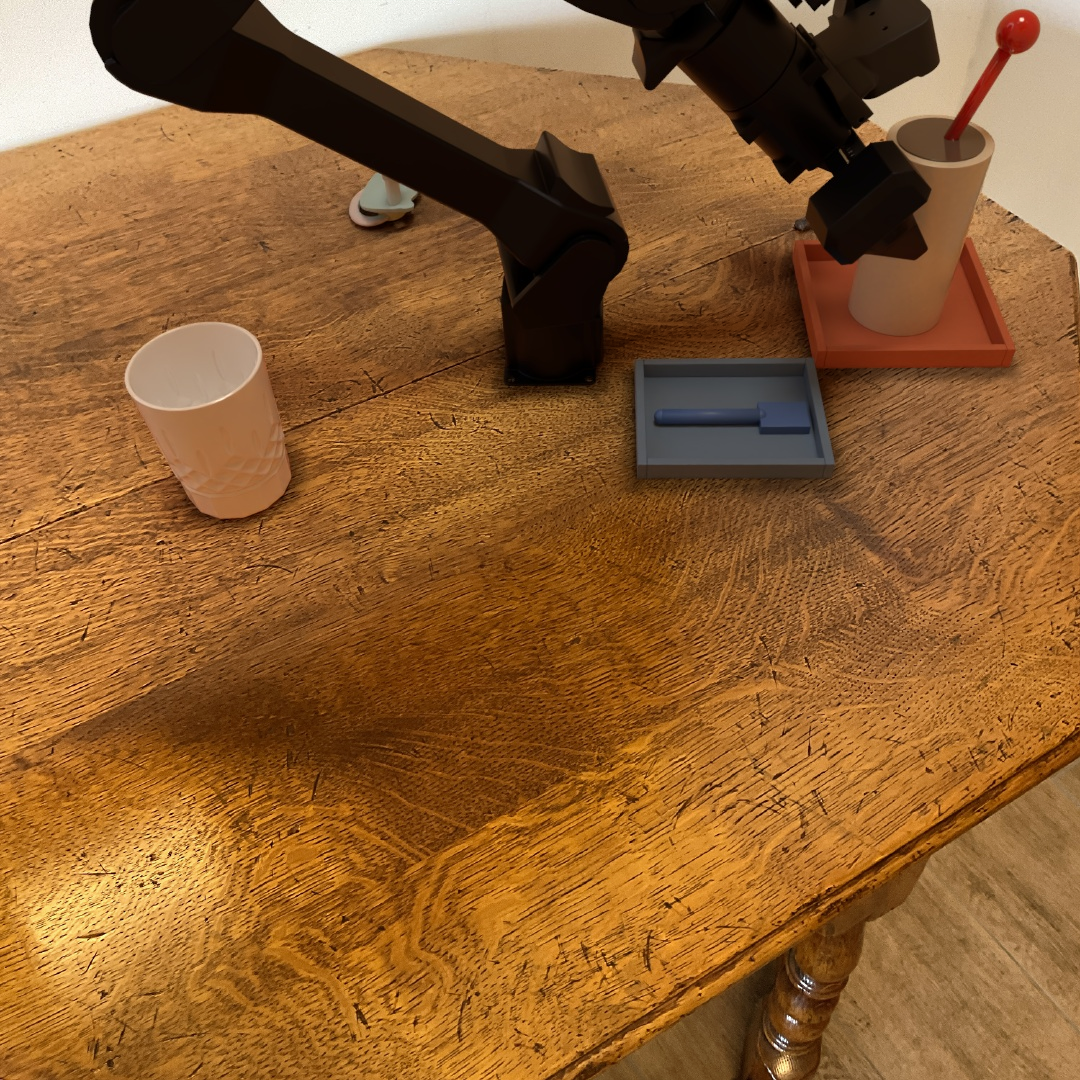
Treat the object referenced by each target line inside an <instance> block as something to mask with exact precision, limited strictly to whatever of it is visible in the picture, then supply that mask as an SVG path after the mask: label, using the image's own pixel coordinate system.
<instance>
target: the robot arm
mask: <svg viewBox="0 0 1080 1080" xmlns="http://www.w3.org/2000/svg"><path fill="white" fill-rule="evenodd" d="M563 1H564V2H565V3H566V4H569V5H571V6H573V7H575V8H577V9H579V10H581V11H583V12H585V13H586V14H591V15H593V16H596V17H599V18H602V19H605V20H608V21H612V22H614V23H618V24H620V25H623V26H626V27H629V28H631V31H632V35H633V39H634V41H633V48H632V56H631V63H632V65H633V67H634V69H635V71H636V74H637V75H638V77H639V80H640V81H641V83H642V85H643V87H644V89H645V90H647V91H648V92H651V91H654V90H655V89H657V88H658V86H659V85H660V84H661V83H662V82H663V81H665V79H666V78H667V77H668V76H669V75H670V74H671V72H672V71H673V70H674V69H675V68H676V67H678V69H679V70H680V71H681V72H683V74H684V75H685V76H687V77H688V79H690V80H691V81H692V82H693V84H695V86H696V87H698V88H699V90H701V91H702V92H703V93H704V94H705V95H706V96H707V97H708V98H709V99H710V100H711V101H712V102H713V103H714V104H715V105H716V106H717V108H719V109H720V110H721V111H722V112H723V113H724V114H725V115H726V116H727V117H728V118H729V120H730V122H731V124H732V125H733V127H734V129H735V131H736V133H737V134H738V136H739V137H740V138H741V139H742V140H743V141H744V142H745V144H747V145H748V146H750V145H751V144H752V143H755V144H756V145H757V147H758V148H760V149H761V151H763V152H764V153H765V154H766V155H767V156H768V158H769V159H770V161H771V163H772V164H773V166H774V167H775V170H776V171H777V173H778V174H779V176H780V177H781V178H782V179H783V180H784V181H785V182H786V183H787V184H788V185H791V184H792V183H793V182H794V181H796V180H797V179H798V178H799V176H801V175H802V174H803V173H804V172H806V171H807V172H812V171H814V170H816V169H818V168H819V169H821V170H824V171H826V172H828V173H830V174H831V175H832V177H831V178H829V179H828V180H827V181H826V182H825V183H823V185H822V186H821V187H819V188H818V189H817V190H816V191H815V192H814V193H813V194H812V195H811V196H809V198H808V200H807V206H806V212H805V218H804V219H805V220H806V221H807V223H808V224H809V226H810V228H811V230H812V231H813V233H814V235H815V236H816V238H817V240H819V242H820V243H821V245H822V247H823V248H824V250H825V251H827V252H828V253H829V254H830V255H831V256H832V257H833V258H834V259H835V260H836V261H837V262H838V263H839V264H840V265H849V264H853V263H854V262H856V261H857V260H858V259H859V258H860V257H862V256H863V255H864V254H865V255H877V256H885V257H892V258H899V259H906V260H913V261H914V260H917V259H918V258H919V257H921V256H922V255H923V254H924V253H926V252H927V250H928V246H927V244H926V242H925V240H924V237H923V235H922V233H921V231H920V228H919V226H918V224H917V222H916V220H915V217H914V215H913V213H914V212H915V211H917V210H918V209H919V208H920V207H921V206H923V205H924V204H925V203H926V202H927V201H928V198H929V196H930V193H931V190H932V189H931V187H930V186H929V185H928V183H927V182H926V181H925V179H924V178H923V177H922V175H921V174H920V173H919V171H918V170H917V169H916V167H915V166H914V165H913V164H912V162H911V161H910V160H909V159H908V158H907V156H906V155H905V154H904V153H903V151H902V150H901V149H900V148H899V147H898V146H897V145H896V143H895V142H894V141H893V140H889V141H885V140H882V141H871V142H869V144H867V145H866V144H865V143H864V141H863V140H862V138H861V137H860V135H859V134H858V133H857V131H856V130H858V129H859V128H860V127H861V126H862V125H864V124H865V123H866V122H867V121H868V120H869V119H870V118H871V117H872V116H873V115H874V112H873V110H872V109H871V107H870V106H869V105H868V104H867V103H866V102H865V101H864V100H866V101H867V100H873V99H874V100H875V99H877V98H879V97H881V96H883V95H885V94H887V93H889V92H891V91H893V90H894V89H896V88H898V87H900V86H902V85H904V84H906V83H908V82H910V81H911V80H913V79H915V78H924V77H925V76H927V75H928V74H930V73H932V72H933V71H935V70H936V69H937V67H939V65H940V62H941V58H940V53H939V47H938V41H937V36H936V32H935V25H934V20H933V15H932V11H931V9H930V8H929V6H928V5H926V4H925V3H924V2H923V0H834V1H833V6H832V14H831V15H830V16H827V22H828V26H827V27H826V28H824V29H823V30H821V31H820V32H819V33H817V34H815V35H814V34H813V32H809V31H807V29H806V28H805V27H804V26H803V25H802V24H801V23H800V22H799V23H798V24H797V25H795V24H794V22H792V21H789V20H788V19H787V18H786V17H785V16H784V15H783V14H782V12H781V11H780V10H779V9H778V8H777V7H776V5H775V4H774V3H773V2H772V1H771V0H563ZM787 1H788V2H789V3H790V5H792V7H793V8H794V9H796V10H797V8H799V7H800V6H801V5H802V4H803V3H804V2H805V3H806V4H807V5H808V6H809V8H810V9H811V10H812V11H813V12H816V11H817V10H818V9H819V8H820V7H821V6H823V7H826V6H827V4H828V3H829V2H831V0H787ZM88 28H89V33H90V37H91V43H92V45H93V47H94V49H95V50H96V53H97V54H98V56H99V58H100V60H101V61H102V63H103V66H104V69H105V71H106V72H108V74H110V75H111V76H112V77H113V78H114V79H115V80H116V81H117V82H119V83H120V84H121V85H123V86H125V87H126V88H128V89H129V90H131V91H133V92H136V93H138V94H141V95H144V96H146V97H150V98H154V99H157V100H160V101H164V102H167V103H170V104H173V105H176V106H179V107H183V108H186V109H189V110H192V111H196V112H200V113H204V114H206V113H207V114H224V115H225V114H226V115H227V114H228V115H229V114H230V115H251V116H252V115H253V116H258V117H261V118H264V119H267V120H268V121H271V122H273V123H275V124H277V125H279V126H281V127H283V128H285V129H287V130H290V131H291V132H294V133H296V134H298V135H299V136H302V137H304V138H306V139H308V140H310V141H312V142H314V143H316V144H318V145H320V146H322V147H324V148H325V149H329V150H331V151H333V152H335V153H336V154H339V155H341V156H343V157H345V158H347V159H349V160H351V161H353V162H355V163H357V164H359V165H360V166H363V167H365V168H368V169H369V170H372V171H374V172H375V173H379V174H382V175H384V176H386V177H388V178H390V179H392V180H394V181H396V182H398V183H400V184H402V185H404V186H406V187H408V188H410V189H412V190H414V191H416V192H418V193H419V194H421V195H423V196H424V197H426V198H429V199H431V200H433V201H435V202H436V203H438V204H441V205H443V206H445V207H447V208H449V209H451V210H453V211H455V212H456V213H457V212H458V213H459V214H462V215H464V216H465V217H468V218H470V219H472V220H474V221H476V222H478V223H479V224H481V225H483V226H484V227H485V228H486V229H487V230H488V231H489V232H490V233H491V234H492V235H493V236H494V237H495V241H496V246H497V250H498V254H499V258H500V262H501V267H502V272H503V277H502V284H501V293H500V294H501V295H500V312H501V322H502V323H501V324H502V334H503V343H504V355H505V360H504V361H505V362H504V371H503V380H502V381H503V384H504V385H505V386H507V387H569V386H570V387H572V386H573V387H576V386H577V387H578V386H579V387H580V386H581V387H583V386H585V387H589V386H593V385H595V384H596V383H597V367H598V366H599V365H600V366H601V365H602V364H603V363H604V297H605V294H606V292H607V289H608V286H609V284H610V283H611V282H612V281H613V280H614V279H615V278H616V277H617V276H618V275H619V274H620V273H621V272H622V270H623V268H624V267H625V265H626V263H627V262H628V259H629V258H628V257H629V254H630V253H629V252H630V242H629V235H628V233H627V230H626V228H625V226H624V225H625V224H624V223H623V220H622V218H621V215H620V213H619V210H618V208H617V204H616V202H615V200H614V198H613V197H614V196H613V195H612V191H611V189H610V187H609V184H608V182H607V179H606V178H605V177H604V175H603V173H602V172H601V170H600V168H599V165H598V162H597V160H596V157H595V155H594V154H593V153H589V152H581V151H578V150H576V149H573V148H571V147H569V146H568V145H566V143H563V141H561V140H560V139H559V138H558V137H557V136H556V135H554V134H553V133H551V132H550V131H548V130H546V129H545V130H543V131H542V132H541V134H540V136H539V138H538V140H537V142H536V145H535V147H534V148H511V147H507V146H504V145H502V144H499V143H498V142H496V141H494V140H493V139H490V138H489V137H487V136H485V135H483V134H481V133H480V132H478V131H476V130H474V129H472V128H470V127H468V126H466V125H464V124H462V123H461V122H459V121H458V120H456V119H453V118H451V117H450V116H447V115H446V114H445V113H442V112H441V111H439V110H437V109H435V108H433V107H432V106H429V105H427V104H426V103H424V102H422V101H420V100H418V99H416V98H415V97H413V96H411V95H410V94H407V93H405V92H403V91H402V90H400V89H398V88H396V87H394V86H392V85H390V84H389V83H387V82H385V81H383V80H381V79H380V78H377V77H376V76H374V75H372V74H370V73H368V72H366V71H364V70H363V69H361V68H359V67H357V66H356V65H354V64H353V63H350V62H349V61H346V60H344V59H342V58H341V57H339V56H337V55H335V54H334V53H331V52H330V51H328V50H327V49H324V48H322V47H320V46H318V45H317V44H315V43H313V42H311V41H309V40H308V39H306V38H304V37H302V36H300V35H298V34H296V33H295V32H293V31H291V30H290V29H289V28H287V27H286V26H285V25H284V24H283V23H282V22H281V21H279V19H278V18H277V17H276V16H275V15H274V14H273V13H272V12H271V11H270V9H268V8H267V7H266V6H265V4H264V3H263V2H262V1H261V0H92V2H91V5H90V11H89V20H88ZM588 379H591V381H588ZM508 380H513V381H508Z"/></svg>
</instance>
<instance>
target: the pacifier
mask: <svg viewBox="0 0 1080 1080" xmlns="http://www.w3.org/2000/svg"><path fill="white" fill-rule="evenodd" d="M419 194H420V193H418V192H416V191H414V190H412V189H410V188H408V187H406V186H404V185H402V184H400V183H398V182H396V181H394V180H392V179H390V178H388V177H386V176H384V175H382V174H379V173H377V172H375V173H374V174H373V175H372V176H371V178H370V179H369V180H368V182H367V183H366V185H365V187H363V188H362V189H361V190H359V191H358V192H357V193H356V194H355V195H354V196H353V197H352V199H351V201H350V203H349V207H348V215H349V217H350V219H351V220H352V222H354V223H355V224H356V225H359V226H361V227H375V226H378V225H381V224H384V223H385V222H391V221H397V220H399V219H402V218H403V217H404V216H405V215H406V213H409V212H412V211H413V210H414V209H415V203H414V202H413V201H414V200H415V199H416V198H417V196H418V195H419ZM360 209H362V210H364V211H366V212H369V213H376V214H378V215H373V216H369V215H364V214H363V213H361V212H360Z"/></svg>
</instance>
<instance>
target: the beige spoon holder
mask: <svg viewBox="0 0 1080 1080" xmlns="http://www.w3.org/2000/svg"><path fill="white" fill-rule="evenodd" d="M1040 34H1041V20H1040V19H1039V17H1038V15H1037V14H1036V13H1035V12H1034V11H1032V10H1030V9H1026V8H1020V9H1015V10H1011V11H1010V12H1009V13H1007V14H1006V15H1005V16H1003V17H1002V18H1001V20H1000V21H999V23H998V24H997V27H996V29H995V35H994V39H995V43H996V46H997V50H996V51H995V53H994V54H993V55H992V57H991V59H990V60H989V62H988V64H987V66H986V67H985V69H984V70H983V72H982V73H981V75H980V77H979V78H978V79H977V82H976V83H975V84H974V86H973V88H972V90H971V91H970V93H969V94H968V96H967V97H966V99H965V101H964V103H963V104H962V105H961V107H960V109H959V111H958V112H957V114H956V115H955V116H951V115H943V114H922V115H913V116H909V117H907V118H903V119H901V120H898V121H897V122H895V123H894V124H892V126H890V127H889V129H888V131H887V132H886V135H885V140H884V141H889V140H893V141H894V142H895V143H896V145H897V146H898V147H899V148H900V149H901V150H902V151H903V153H904V154H905V155H906V156H907V158H908V159H909V160H910V161H911V162H912V164H913V165H914V166H915V167H916V169H917V170H918V171H919V173H920V174H921V175H922V177H923V178H924V179H925V181H926V182H927V183H928V185H929V186H930V187H931V189H932V190H931V193H930V196H929V198H928V201H927V202H926V203H925V204H924V205H923V206H921V207H920V208H919V209H918V210H917V211H915V212H914V213H913V215H914V217H915V220H916V222H917V224H918V226H919V228H920V231H921V233H922V235H923V237H924V240H925V242H926V244H927V246H928V250H927V252H926V253H924V254H923V255H922V256H921V257H919V258H918V259H917V260H914V261H913V260H906V259H899V258H892V257H885V256H877V255H865V254H864V255H863V256H862V257H860V258H859V259H858V261H857V265H856V269H855V274H854V278H853V282H852V287H851V291H850V295H849V300H848V308H849V311H850V313H851V315H852V316H853V318H854V319H855V320H856V321H857V322H859V323H860V324H861V325H863V326H864V327H866V328H868V329H870V330H872V331H875V332H878V333H881V334H885V335H891V336H913V335H918V334H921V333H924V332H926V331H928V330H930V329H932V328H933V327H934V326H935V325H936V324H937V323H938V322H939V320H940V317H941V314H942V311H943V308H944V305H945V302H946V299H947V296H948V293H949V289H950V286H951V283H952V280H953V277H954V274H955V271H956V268H957V265H958V262H959V258H960V255H961V252H962V249H963V246H964V243H965V240H966V238H968V237H967V236H968V233H969V230H970V227H971V225H972V221H973V218H974V216H975V212H976V209H977V205H978V202H979V199H980V196H981V194H982V190H983V187H984V184H985V181H986V177H987V174H988V171H989V168H990V165H991V162H992V159H993V156H994V153H995V150H996V142H995V140H994V137H993V136H992V135H991V133H989V132H988V131H987V130H986V129H985V128H984V127H982V126H981V125H978V124H976V123H975V122H973V121H972V119H973V117H974V116H975V115H976V113H977V111H978V109H979V108H980V106H981V105H982V103H983V102H984V100H985V98H986V97H987V95H988V93H989V92H990V91H991V89H992V87H993V86H994V84H995V82H996V81H997V79H998V78H999V76H1000V74H1001V73H1002V71H1003V69H1004V68H1005V67H1006V65H1007V64H1008V62H1009V60H1010V59H1011V57H1012V56H1018V55H1021V54H1024V53H1026V52H1028V51H1029V50H1030V49H1032V48H1033V47H1034V45H1035V44H1036V43H1037V42H1038V39H1039V37H1040Z"/></svg>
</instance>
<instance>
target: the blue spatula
mask: <svg viewBox="0 0 1080 1080" xmlns="http://www.w3.org/2000/svg"><path fill="white" fill-rule="evenodd" d="M654 420H655V421H656V422H657V423H658V424H759V430H760V434H809V433H810V428H811V424H810V419H809V414H808V408H807V403H806V402H758V404H757V409H659V410H657V411H656V412H655V414H654Z"/></svg>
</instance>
